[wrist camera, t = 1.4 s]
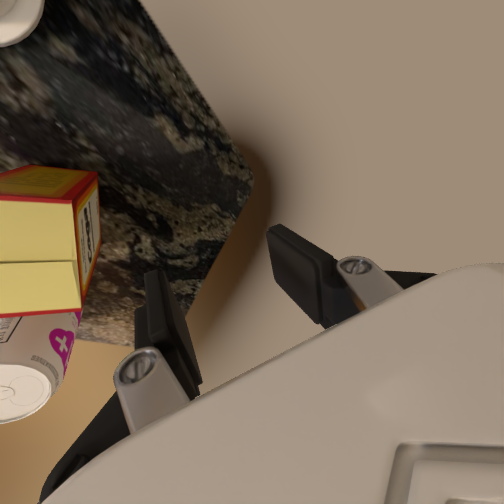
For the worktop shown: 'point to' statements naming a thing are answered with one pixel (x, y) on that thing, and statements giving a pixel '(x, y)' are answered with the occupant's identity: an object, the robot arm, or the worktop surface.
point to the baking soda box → (47, 239)
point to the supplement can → (33, 360)
